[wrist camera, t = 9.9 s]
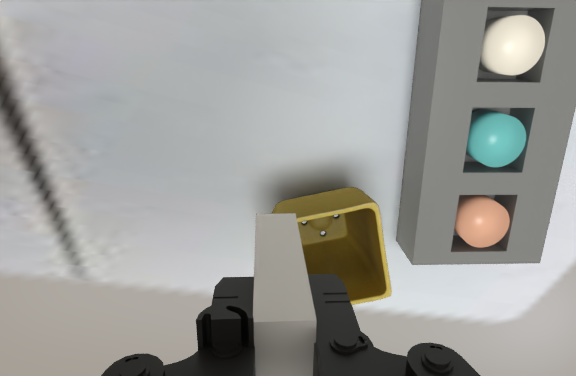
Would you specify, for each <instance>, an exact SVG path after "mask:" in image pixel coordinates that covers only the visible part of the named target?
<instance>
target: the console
mask: <svg viewBox="0 0 576 376" xmlns="http://www.w3.org/2000/svg"><path fill="white" fill-rule="evenodd" d="M516 15H526V16H530V17H532V18H534V19H536V20H537V21H538V22H539V23H540V25H541V26H542V28H543V31H544V34H545V46H544V50H543V53H542V55H541V57H540V59H539V60H538V61H537V63H536V64H535V65H534V66H533V67H532V68H531V69H529V70H528V71H526V72H524V73H522V74H519V75H503V74H496V73H489V72H484V71H482V70H480V69H479V62H480V55H481V49H482V42H483V36H484V29H485V23H486V21H487V20H489V19H492V18H497V17H506V16H516ZM575 108H576V0H422V1H421V10H420V20H419V29H418V39H417V48H416V58H415V67H414V77H413V86H412V96H411V106H410V115H409V125H408V134H407V144H406V153H405V163H404V172H403V182H402V191H401V201H400V210H399V220H398V230H397V239H396V241H397V242H398V244H399V245H400V247H401V249H402V250H403V252H404V253H405V255H406V256H407V258H408V259H409V261H410V262H411V264H412V265H438V264H513V263H540V260H541V256H542V252H543V247H544V243H545V238H546V234H547V230H548V225H549V221H550V217H551V212H552V208H553V204H554V199H555V195H556V190H557V186H558V182H559V177H560V173H561V169H562V164H563V160H564V156H565V151H566V147H567V142H568V138H569V134H570V129H571V125H572V121H573V116H574V112H575ZM481 109H489V110H493V111H496V112H500V113H503V114H506V115H510V116H513V117H515V118H517V119H518V120H519V121H520V122H521V123H522V124H523V126H524V128H525V131H526V142H525V146H524V148H523V150H522V152H521V153H520V155H519V156H518V157H517V158H516V159H515V160H514V161H512V162H511V163H509V164H507V165H505V166H502V167H489V166H486V165H484V164H482V163H480V162H479V161H477V160H475V159H473V158H472V157H470V156H468V155H466V148H467V141H468V135H469V128H470V121H471V115H472V112H474V111H477V110H481ZM459 195H487V196H489V197H490V198H492V199H493V200H495V201H496V202H497V203H499V204H500V205H502V206H503V207H504V208H505V209H506V210H507V212H508V214H509V219H510V223H509V228H508V230H507V232H506V234H505V235H504V237H503V238H502V239H501V240H500V241H498V242H497V243H495V244H494V245H491V246H488V247H483V248H479V247H474V246H471V245H469V244H468V243H466V242H465V241H464V240H463V239H462V238H461V237H460V236H459V235H458V234H457V233H456V232H455V231H454V227H455V220H456V214H457V207H458V200H459Z"/></svg>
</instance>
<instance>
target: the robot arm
mask: <svg viewBox="0 0 576 376" xmlns="http://www.w3.org/2000/svg"><path fill="white" fill-rule="evenodd" d="M196 324H197V340H198V351H197V352H196V353H195V354H194V355H192V356H190V357H188V358H187V359H184V360H182V361H179V362H176V363H172V364H168V365H165V366H164V365H163V362H162V361H161V360H160V359H159V358H158V357H156V356H153V355H150V354H134V355H131V356H126V357H124V358H122V359H120V360H118V361H116V362H114V363H113V364H112V365H111V366H110V367H109V368H108V369H107V370H105V372H104V373H103V374H102V375H101V376H480V375H479V374H478V373H477V372H476V371H475V370H474V369H473V368H472V367H471V366H470V365H469V364H468V363H467V362H466V361H465V360H464V359H463V358H462V357H461V356H460V355H459V354H458V353H456V352H455V351H454V350H452V349H450V348H448V347H445V346H443V345H440V344H434V343H421V344H418V345H415V346H413V347H412V348H411V349H410V350H409V352H408V355H407V357H406V356H401V355H396V354H391V353H388V352H384V351H381V350H379V349H377V348H375V347H374V346H373V344H372V342H371V341H370V339H369V338H368V336H366V335H365V334H364V333H362V332H361V331H360V328H359V325H358V322H357V319H356V316H355V313H354V310H353V307H352V305H351V303H350V299H349V296H348V294H347V290H346V287H345V284H344V282H343V281H342V280H341V279H340V278H339V277H337V276H336V275H335V274H307V269H306V264H305V259H304V254H303V249H302V244H301V238H300V233H299V228H298V223H297V218H296V213H285V214H256V231H255V263H254V277H224V278H222V280H221V281H220V282H219V283H218V284H217V285H216V286H215V290H214V295H213V300H212V305H211V306H210V307H208V308H206V309H205V310H203V311H202V312H201V313H200V314H199V315H198V318H197V319H196Z"/></svg>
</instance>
